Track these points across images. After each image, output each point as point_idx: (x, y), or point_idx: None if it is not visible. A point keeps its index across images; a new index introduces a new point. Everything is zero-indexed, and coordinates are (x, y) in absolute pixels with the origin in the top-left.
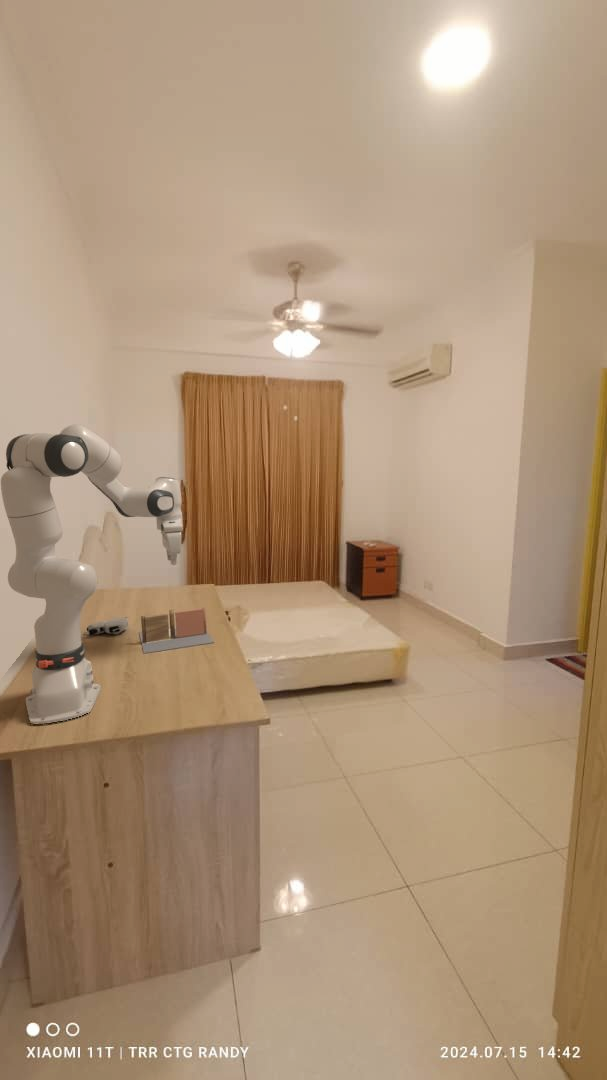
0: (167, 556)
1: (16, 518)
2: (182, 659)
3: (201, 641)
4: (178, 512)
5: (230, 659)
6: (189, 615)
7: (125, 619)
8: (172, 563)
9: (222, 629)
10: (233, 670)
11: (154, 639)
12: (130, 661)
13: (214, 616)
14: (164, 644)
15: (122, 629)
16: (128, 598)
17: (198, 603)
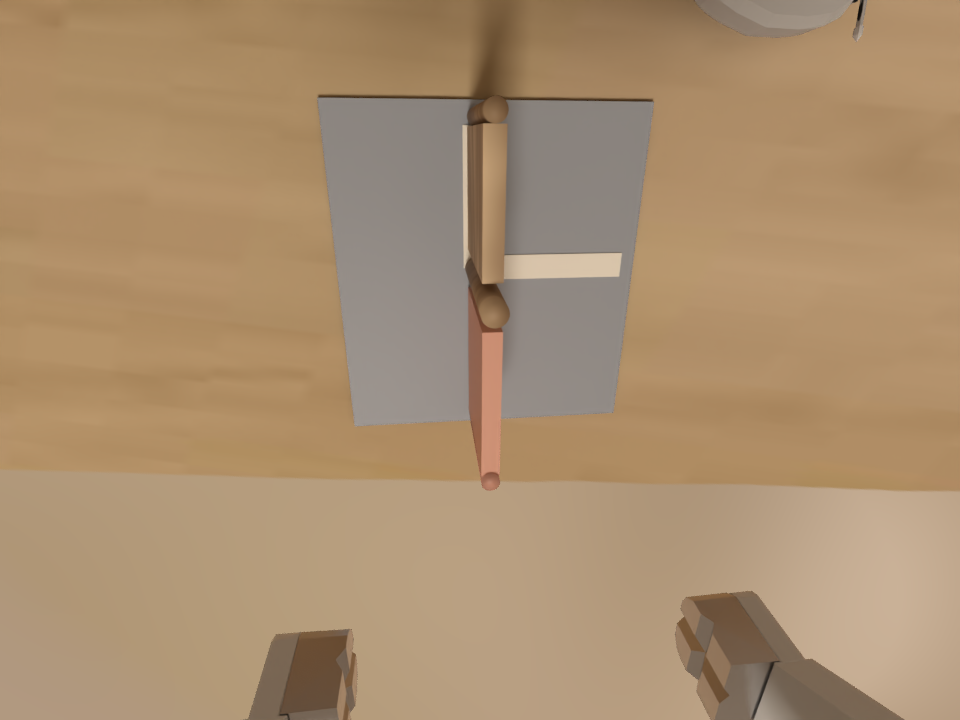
0: (773, 639)
1: None
2: (190, 276)
3: (381, 381)
4: None
5: (146, 453)
6: (479, 394)
7: (790, 12)
8: (270, 664)
9: (504, 474)
10: (24, 446)
11: (468, 173)
12: (224, 8)
13: (684, 468)
14: (405, 217)
15: None
16: None
17: (906, 432)
